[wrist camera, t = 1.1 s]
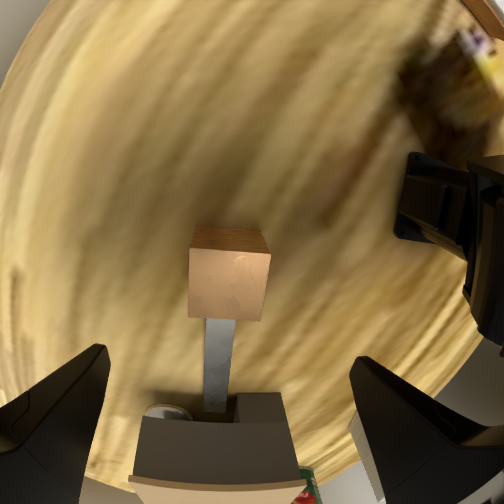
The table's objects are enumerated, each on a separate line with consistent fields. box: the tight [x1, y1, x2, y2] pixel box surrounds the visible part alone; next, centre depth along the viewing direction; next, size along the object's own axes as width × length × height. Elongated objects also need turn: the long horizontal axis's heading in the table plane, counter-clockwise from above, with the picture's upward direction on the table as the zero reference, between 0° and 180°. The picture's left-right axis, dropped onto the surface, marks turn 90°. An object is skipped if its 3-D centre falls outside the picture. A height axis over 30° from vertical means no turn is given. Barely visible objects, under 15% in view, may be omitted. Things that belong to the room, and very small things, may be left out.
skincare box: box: [349, 410, 385, 502], centre depth 22 cm, size 6×4×12 cm
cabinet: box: [128, 393, 307, 504], centre depth 20 cm, size 12×11×10 cm
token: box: [145, 404, 194, 421], centre depth 23 cm, size 5×5×1 cm
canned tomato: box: [290, 467, 322, 504], centre depth 27 cm, size 8×8×11 cm
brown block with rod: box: [188, 226, 271, 413], centre depth 18 cm, size 4×17×4 cm, turn 173°
